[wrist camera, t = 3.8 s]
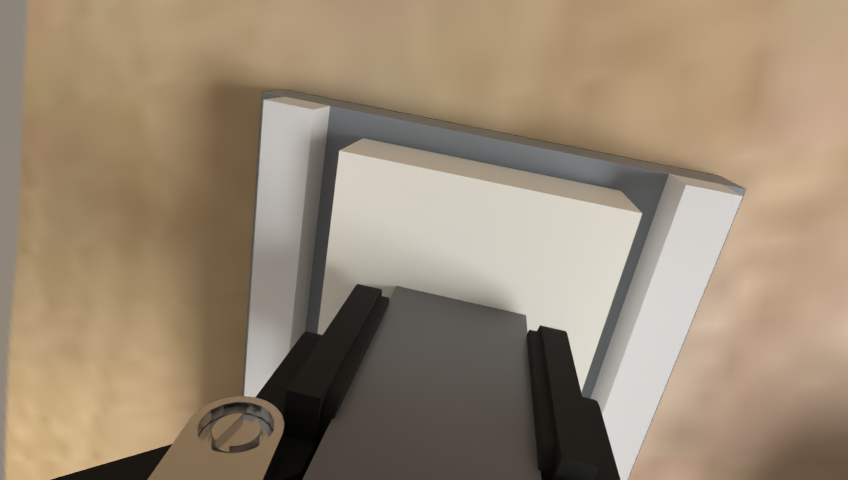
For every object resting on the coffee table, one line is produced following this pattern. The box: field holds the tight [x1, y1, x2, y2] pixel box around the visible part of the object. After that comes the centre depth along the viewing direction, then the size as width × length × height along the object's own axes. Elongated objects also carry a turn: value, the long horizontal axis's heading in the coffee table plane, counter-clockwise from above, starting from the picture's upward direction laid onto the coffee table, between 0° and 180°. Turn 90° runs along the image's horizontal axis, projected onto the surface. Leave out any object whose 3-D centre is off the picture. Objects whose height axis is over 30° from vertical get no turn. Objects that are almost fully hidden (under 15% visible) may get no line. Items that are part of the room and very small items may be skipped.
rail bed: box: [242, 90, 746, 480], centre depth 16 cm, size 22×12×3 cm, turn 170°
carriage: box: [303, 138, 642, 480], centre depth 10 cm, size 8×6×9 cm
